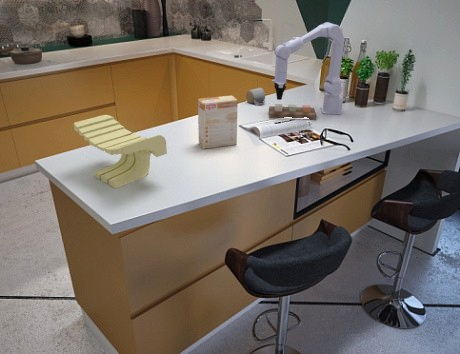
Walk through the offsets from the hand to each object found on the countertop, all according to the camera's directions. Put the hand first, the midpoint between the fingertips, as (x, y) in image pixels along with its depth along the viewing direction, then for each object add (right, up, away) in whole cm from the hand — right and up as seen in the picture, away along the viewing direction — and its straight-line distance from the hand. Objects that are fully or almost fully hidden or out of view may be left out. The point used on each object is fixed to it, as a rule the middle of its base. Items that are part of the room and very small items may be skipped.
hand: (279, 98), depth 215 cm
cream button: (0, -6, +3) cm, 6 cm away
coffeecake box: (-30, -25, -32) cm, 51 cm away
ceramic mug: (-10, +1, +22) cm, 24 cm away
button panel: (+7, -8, +3) cm, 11 cm away
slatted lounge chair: (-63, -38, -60) cm, 95 cm away
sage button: (+7, -6, +2) cm, 9 cm away
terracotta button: (+14, -6, +2) cm, 15 cm away
